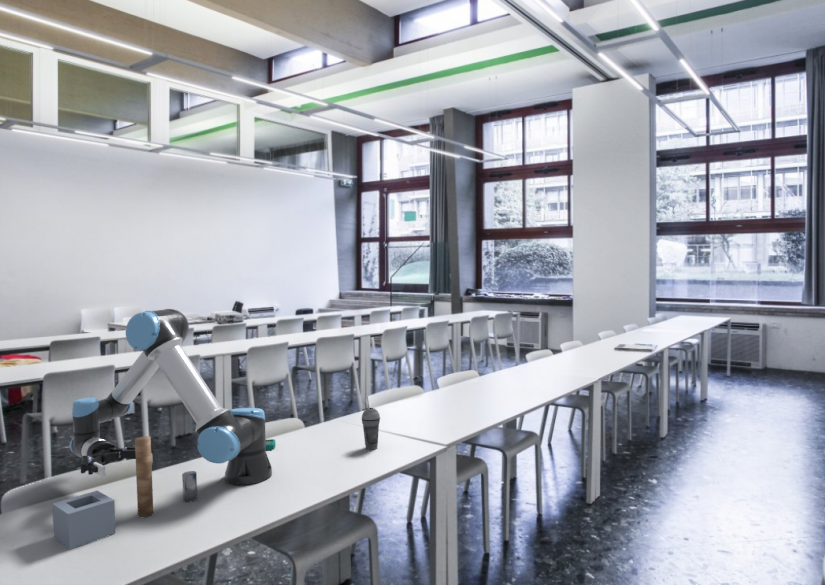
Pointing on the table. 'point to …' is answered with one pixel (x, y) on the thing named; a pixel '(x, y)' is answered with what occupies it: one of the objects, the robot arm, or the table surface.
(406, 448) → the table surface
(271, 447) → the digital multimeter
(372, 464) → the table surface
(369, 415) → the beverage cup
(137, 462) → the long walnut pin
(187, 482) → the short steel pin
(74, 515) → the collar block
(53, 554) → the table surface
